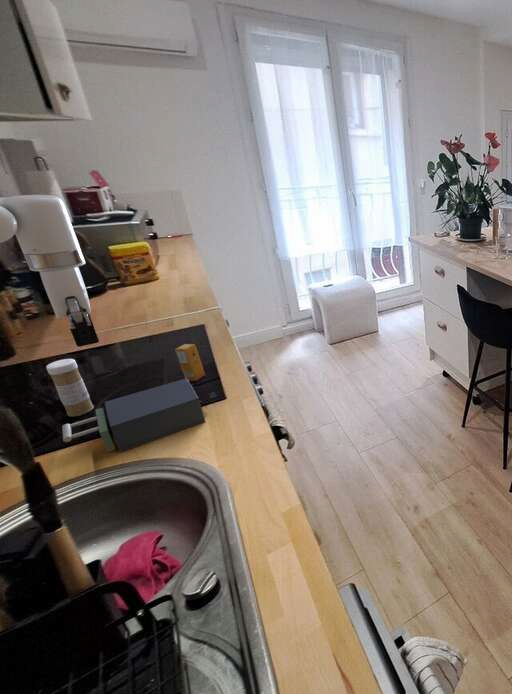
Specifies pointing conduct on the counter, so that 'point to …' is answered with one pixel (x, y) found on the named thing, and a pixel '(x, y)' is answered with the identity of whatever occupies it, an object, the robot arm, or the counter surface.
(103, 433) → the drawer
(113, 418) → the cabinet
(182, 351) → the supplement box
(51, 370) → the sprinkles bottle
